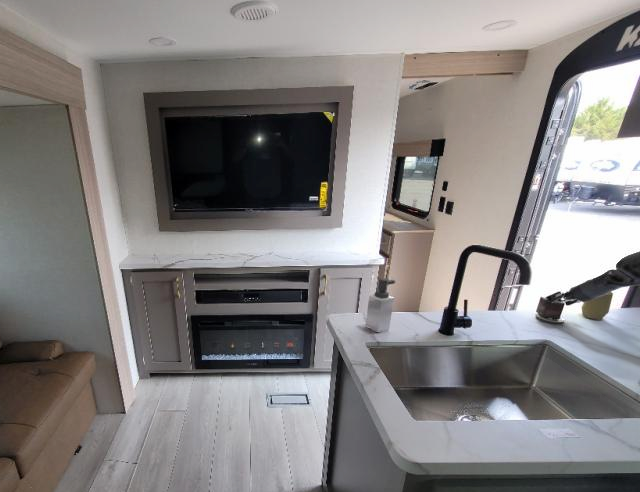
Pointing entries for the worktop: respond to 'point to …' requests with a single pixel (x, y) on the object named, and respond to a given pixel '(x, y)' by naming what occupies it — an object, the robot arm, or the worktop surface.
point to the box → (550, 309)
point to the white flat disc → (550, 320)
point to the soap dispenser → (380, 307)
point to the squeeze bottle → (597, 307)
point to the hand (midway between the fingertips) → (555, 303)
